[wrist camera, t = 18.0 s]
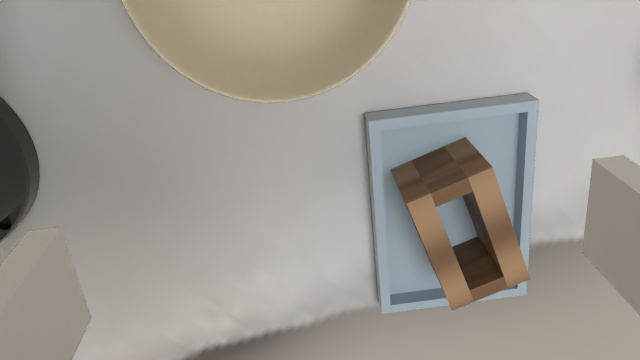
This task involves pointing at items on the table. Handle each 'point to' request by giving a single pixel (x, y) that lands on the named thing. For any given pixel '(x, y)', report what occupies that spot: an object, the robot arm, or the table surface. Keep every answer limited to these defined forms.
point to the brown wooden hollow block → (485, 211)
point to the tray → (395, 221)
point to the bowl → (267, 42)
